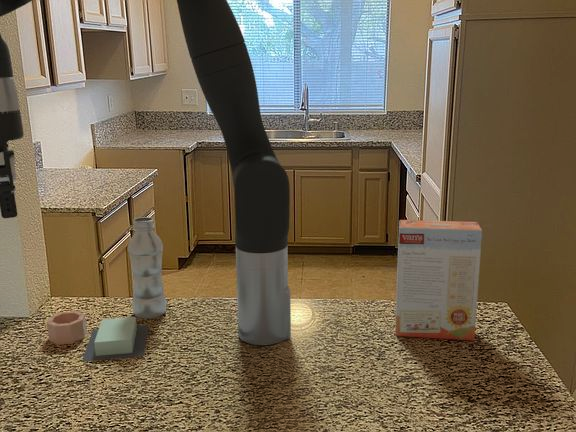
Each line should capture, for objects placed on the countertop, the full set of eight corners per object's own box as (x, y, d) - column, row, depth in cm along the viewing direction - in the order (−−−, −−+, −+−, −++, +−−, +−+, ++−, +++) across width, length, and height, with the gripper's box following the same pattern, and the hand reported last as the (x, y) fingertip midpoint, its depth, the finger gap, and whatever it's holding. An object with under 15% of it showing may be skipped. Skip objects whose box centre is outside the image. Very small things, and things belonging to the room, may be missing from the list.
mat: (148, 329, 106) (148, 324, 106) (144, 361, 95) (144, 355, 95) (93, 334, 105) (93, 329, 104) (82, 367, 93) (81, 361, 93)
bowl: (88, 332, 105) (86, 310, 104) (83, 347, 100) (80, 324, 99) (54, 335, 104) (52, 312, 103) (47, 350, 99) (44, 327, 98)
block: (136, 329, 104) (135, 316, 104) (132, 352, 96) (131, 339, 95) (103, 331, 103) (101, 319, 103) (95, 355, 95) (94, 342, 94)
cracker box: (470, 327, 106) (478, 220, 101) (474, 342, 100) (484, 229, 95) (394, 322, 109) (399, 217, 103) (394, 336, 103) (399, 226, 97)
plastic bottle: (140, 309, 115) (132, 214, 110) (172, 311, 114) (166, 215, 109) (127, 323, 109) (118, 223, 104) (161, 325, 108) (153, 224, 103)
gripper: (21, 110, 82) (37, 218, 86) (18, 105, 94) (32, 199, 98) (-38, 113, 78) (-18, 225, 83) (-34, 107, 91) (-17, 205, 95)
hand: (9, 211), depth 90 cm, fingers open, 8 cm apart
